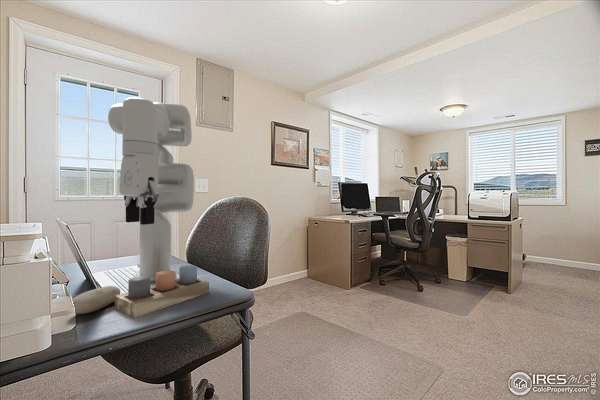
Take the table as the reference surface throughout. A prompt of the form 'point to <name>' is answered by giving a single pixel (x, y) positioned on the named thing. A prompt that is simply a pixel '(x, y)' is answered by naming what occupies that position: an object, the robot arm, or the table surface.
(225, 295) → the table surface
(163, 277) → the terracotta button
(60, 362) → the table surface
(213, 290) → the table surface
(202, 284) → the birch board
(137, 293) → the charcoal button
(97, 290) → the stone
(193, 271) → the slate button
